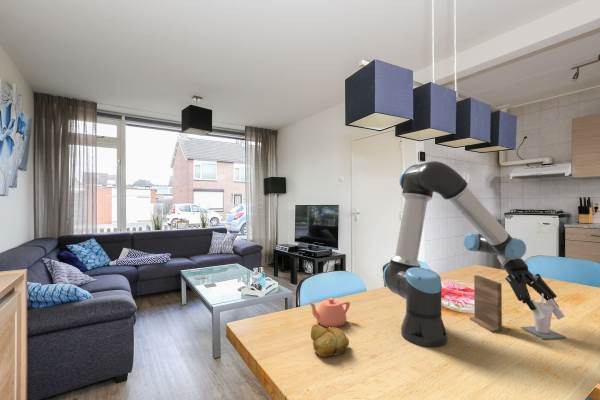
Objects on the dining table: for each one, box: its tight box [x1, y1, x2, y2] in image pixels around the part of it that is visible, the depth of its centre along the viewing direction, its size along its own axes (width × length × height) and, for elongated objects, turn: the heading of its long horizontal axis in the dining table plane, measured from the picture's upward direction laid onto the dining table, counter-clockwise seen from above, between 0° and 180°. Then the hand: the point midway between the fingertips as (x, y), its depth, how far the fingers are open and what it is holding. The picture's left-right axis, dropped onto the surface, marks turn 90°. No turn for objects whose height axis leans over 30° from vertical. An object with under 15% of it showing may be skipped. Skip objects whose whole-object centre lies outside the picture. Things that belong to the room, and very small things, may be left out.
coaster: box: [520, 325, 567, 340], centre depth 105 cm, size 9×9×1 cm
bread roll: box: [310, 324, 350, 357], centre depth 92 cm, size 13×10×8 cm
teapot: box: [307, 297, 351, 328], centre depth 115 cm, size 12×18×10 cm
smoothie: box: [532, 293, 554, 334], centre depth 105 cm, size 6×6×14 cm
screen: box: [469, 274, 508, 334], centre depth 111 cm, size 6×12×18 cm, turn 6°
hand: (551, 318), depth 101 cm, fingers open, 7 cm apart
